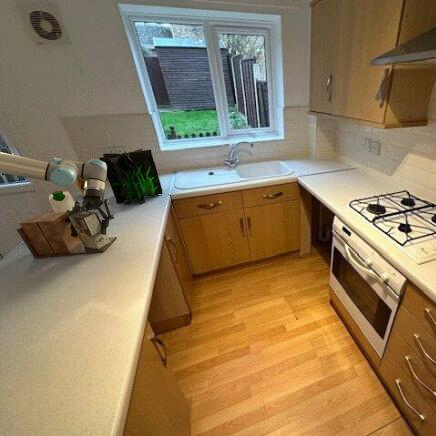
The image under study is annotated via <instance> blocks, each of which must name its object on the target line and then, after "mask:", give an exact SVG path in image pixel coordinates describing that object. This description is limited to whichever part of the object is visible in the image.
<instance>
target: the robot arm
mask: <svg viewBox="0 0 436 436" xmlns="http://www.w3.org/2000/svg"><path fill="white" fill-rule="evenodd" d="M0 174H4V175H5V174H6V175H11V176H16V177H17V176H18V177H22V178H28V179H33V180H39V181H45V182H51V183H52V184H54V185H55V186H58V187H63V188H65V187H69V186H71V185H73V184H74V183H75V182H76V178H82V179H86V180H85V186H84V189H85V190H84V193H83V195H82V197H83V198H82V199H83V200H81V201H78V200H76V201H74V202H75V205H74V207H73V209H72V211H71V213H70V214H69V216H71V215H73V214H75V213H77V212H80V211H89V212H90V211H93V210H94V211H96V210H97V212H98V213H99V214H100V216H101V217H102V219H101V231H100V234H103V235H106V234H107V230H108V228H109V227H110V221H111V220H114V219H115V216H114V212H113V210H112V207H111V201H110V200H109V199H107V198H105V190H106V181H107V175H106V174H107V165H106V164H105V163H104V162H103V161H100V159H89V160H88V161H87V162H81V161H75V160H70V159H65V158H58V157H54V158H52V159H51V161H50V162H47V161H42V160H38V159H34V158H29V157H24V156H21V155H15V154H10V153H6V152H0ZM102 205H103V206H104V208H103V207H102ZM104 209H105V210H104ZM69 216H68V218H67V219H66V221H68V222H71V220H70V218H69ZM70 229H71V230H72V231H71V236H72V237H75V238H76V237H77V236H78V234H77V232H76V230H75V228H74V226H73V224H72V222H71V227H70Z"/></svg>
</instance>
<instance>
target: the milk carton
mask: <svg viewBox="0 0 436 436" xmlns="http://www.w3.org/2000/svg"><path fill="white" fill-rule="evenodd" d="M48 201H49V202H50V205H51V207H52V209H53V211H54V213H55V212H68V214H70V213H71V211H72V209H73V207H74V205H75V202H76V201H75V200H74V198H73V196H72V195H71V194H70V192H69V191H63V190H57V191H54V192H52V193H51V194H49V195H48Z"/></svg>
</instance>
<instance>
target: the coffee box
mask: <svg viewBox="0 0 436 436" xmlns="http://www.w3.org/2000/svg"><path fill="white" fill-rule="evenodd" d="M69 218H70V220H71V222H72V224H73V226H74V228H75V230H76V232H77V234H78V236H79V238H80V240H81V242H82V243H83V245H84V247H89V248H95V249H100V248H101V247H103V246H105V245H106V244H108V243H110V241H109V236H108V234H107V233H106V235H103V234H100V231H101V222H102V219H101V218H100V216H99V214H98V211H97V212H96V211H90V210H89V211H80V212H77V213H75V214H73V215H71V216H69Z"/></svg>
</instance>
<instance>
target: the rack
mask: <svg viewBox="0 0 436 436" xmlns="http://www.w3.org/2000/svg"><path fill="white" fill-rule="evenodd" d="M68 216H69V214H68V212H55V211H54V212H44V213H35V214H34V215H31V216H29V217H28V218H26V219H25V220H23V221H21V222H19V225H20V226H19V227H18V228H16V232H17V233H18V235H19V236H20V238H21V239H22V242H23V243H24V244H25V246H26V247H27V249H28V251H29V252H30V253H31V255H32V257H33V258H34V259H35V260H36V259H47V258H58V257H68V256H82V255H92V254H103V253H105V252H106V251H107V250H108V248H109V247H110V246H111V245H112V244H113V243H114V242H115V241H116V240H117V236H113V237H112V236H111V237H109V236H108V238H109V241H110V243H108V244H106V245H105V246H103V247H101V248H100V249H95V248H89V247H84V245H83V243H82V242H81V240H80V238H79V236H77V237H76V238H75V237H72V236H71V231H72V230H71V229H70V227H71V222H68V221H66V219H67V218H68Z"/></svg>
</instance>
